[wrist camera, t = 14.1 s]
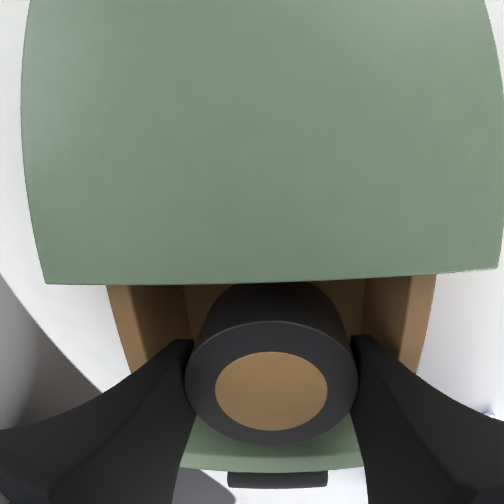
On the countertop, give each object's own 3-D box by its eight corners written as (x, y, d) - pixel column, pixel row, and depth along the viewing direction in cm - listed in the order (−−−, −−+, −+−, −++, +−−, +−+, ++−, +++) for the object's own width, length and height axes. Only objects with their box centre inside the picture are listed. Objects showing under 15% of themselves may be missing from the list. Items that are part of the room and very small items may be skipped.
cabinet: (399, 209, 13) (498, 270, 6) (146, 220, 14) (44, 285, 7) (368, -50, 9) (413, -140, 2) (137, -33, 10) (62, -106, 3)
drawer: (363, 428, 16) (380, 505, 11) (195, 431, 17) (174, 506, 12) (392, 119, 11) (468, 105, 6) (141, 133, 12) (57, 131, 7)
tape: (337, 386, 12) (348, 443, 9) (213, 388, 12) (199, 444, 9) (346, 270, 10) (369, 316, 7) (195, 275, 11) (167, 321, 8)
